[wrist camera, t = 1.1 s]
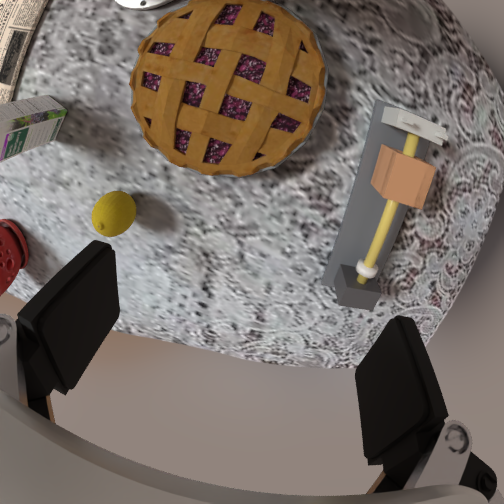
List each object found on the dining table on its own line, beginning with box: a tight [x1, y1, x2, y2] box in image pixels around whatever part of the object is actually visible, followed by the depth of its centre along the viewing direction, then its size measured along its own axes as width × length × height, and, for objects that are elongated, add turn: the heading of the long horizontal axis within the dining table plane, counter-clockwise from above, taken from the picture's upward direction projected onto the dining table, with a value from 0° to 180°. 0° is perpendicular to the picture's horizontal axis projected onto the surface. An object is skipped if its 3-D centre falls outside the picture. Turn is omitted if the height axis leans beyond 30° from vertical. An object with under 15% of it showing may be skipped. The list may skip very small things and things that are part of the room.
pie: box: [129, 0, 329, 178], centre depth 26 cm, size 22×22×5 cm
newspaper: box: [0, 0, 48, 105], centre depth 22 cm, size 37×19×3 cm, turn 149°
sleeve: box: [371, 144, 436, 210], centre depth 28 cm, size 5×5×5 cm
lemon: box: [92, 191, 136, 237], centre depth 34 cm, size 6×6×8 cm
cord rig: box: [321, 100, 448, 311], centre depth 31 cm, size 26×8×7 cm, turn 171°
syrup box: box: [0, 95, 67, 162], centre depth 25 cm, size 6×6×14 cm
